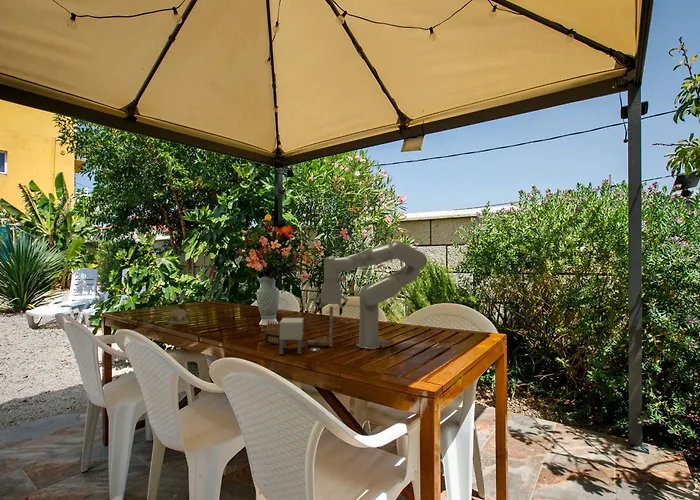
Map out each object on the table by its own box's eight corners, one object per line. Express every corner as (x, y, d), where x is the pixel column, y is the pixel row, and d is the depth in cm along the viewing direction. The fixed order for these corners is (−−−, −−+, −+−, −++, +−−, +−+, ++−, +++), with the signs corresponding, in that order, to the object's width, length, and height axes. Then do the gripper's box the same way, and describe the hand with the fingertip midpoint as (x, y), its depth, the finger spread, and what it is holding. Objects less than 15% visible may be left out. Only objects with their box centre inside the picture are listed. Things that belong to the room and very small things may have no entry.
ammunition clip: (265, 343, 196) (265, 320, 196) (267, 342, 197) (268, 319, 197) (281, 346, 190) (281, 322, 190) (283, 345, 192) (284, 321, 192)
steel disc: (320, 350, 184) (320, 347, 184) (319, 353, 179) (319, 350, 179) (309, 350, 183) (310, 347, 184) (309, 353, 178) (309, 350, 179)
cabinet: (304, 348, 187) (305, 318, 187) (303, 354, 174) (303, 322, 175) (282, 347, 187) (283, 317, 187) (279, 354, 174) (279, 322, 174)
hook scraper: (332, 345, 193) (332, 306, 193) (332, 348, 188) (332, 307, 188) (306, 345, 192) (307, 306, 193) (305, 347, 187) (306, 307, 188)
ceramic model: (191, 321, 255) (192, 306, 256) (185, 324, 244) (186, 309, 245) (170, 321, 254) (170, 306, 254) (163, 324, 243) (163, 309, 243)
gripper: (347, 281, 195) (347, 314, 195) (314, 280, 194) (313, 314, 194) (348, 282, 188) (348, 316, 188) (313, 281, 187) (313, 316, 186)
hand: (330, 315), depth 191 cm, fingers open, 9 cm apart
